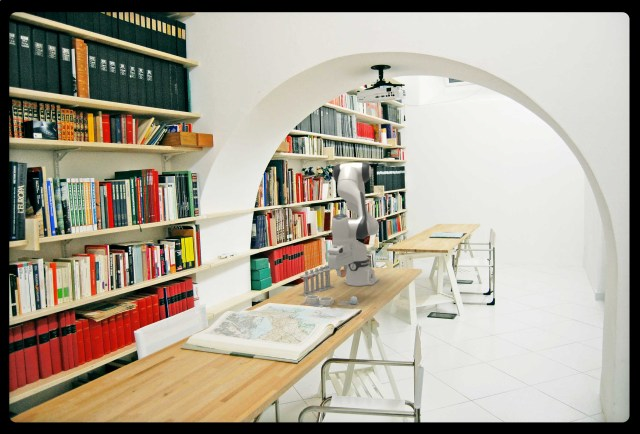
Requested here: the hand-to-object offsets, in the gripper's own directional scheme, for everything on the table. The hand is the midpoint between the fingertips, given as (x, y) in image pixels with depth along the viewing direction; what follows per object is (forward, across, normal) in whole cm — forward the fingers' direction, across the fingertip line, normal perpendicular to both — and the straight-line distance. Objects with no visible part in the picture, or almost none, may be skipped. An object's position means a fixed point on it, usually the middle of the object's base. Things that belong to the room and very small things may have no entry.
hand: (342, 274), depth 239 cm
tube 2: (+14, +6, -7) cm, 17 cm away
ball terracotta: (+1, 0, 0) cm, 1 cm away
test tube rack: (+15, -16, -26) cm, 34 cm away
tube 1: (+14, +6, -15) cm, 21 cm away
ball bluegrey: (+14, +1, +6) cm, 15 cm away
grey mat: (+14, +1, +3) cm, 15 cm away
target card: (+14, +7, -11) cm, 19 cm away
